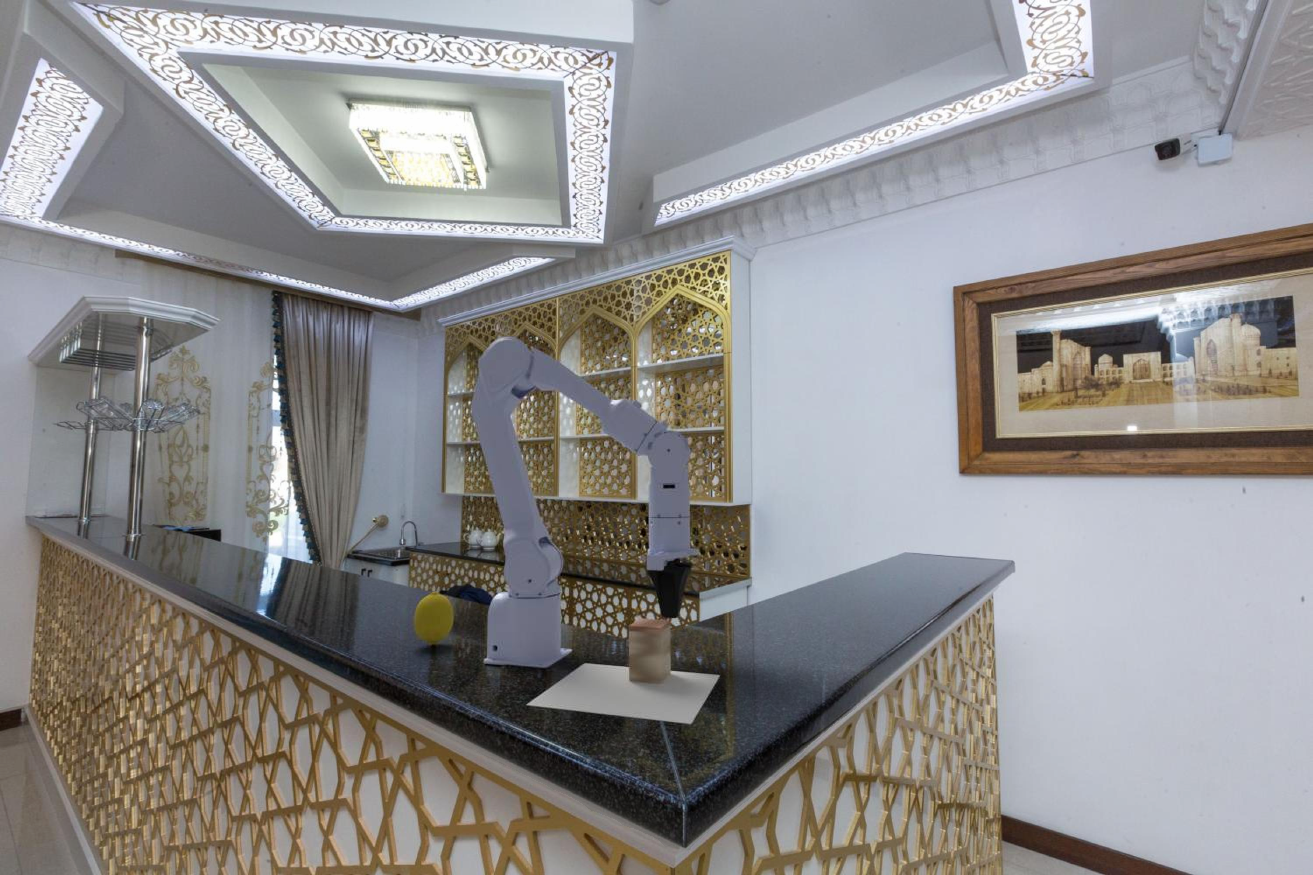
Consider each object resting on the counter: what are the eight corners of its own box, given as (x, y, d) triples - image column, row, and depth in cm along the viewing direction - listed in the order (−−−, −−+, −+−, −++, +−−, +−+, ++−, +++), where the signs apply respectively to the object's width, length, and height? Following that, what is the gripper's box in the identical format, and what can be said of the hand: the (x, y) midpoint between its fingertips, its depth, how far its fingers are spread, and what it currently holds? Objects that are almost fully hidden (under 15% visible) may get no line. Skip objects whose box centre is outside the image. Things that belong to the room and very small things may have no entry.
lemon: (449, 639, 89) (450, 587, 90) (455, 647, 84) (456, 592, 85) (411, 644, 86) (412, 590, 87) (415, 653, 82) (416, 596, 82)
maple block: (629, 680, 68) (628, 625, 68) (640, 670, 72) (639, 618, 72) (661, 684, 67) (660, 627, 67) (670, 673, 70) (670, 620, 71)
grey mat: (526, 708, 61) (526, 704, 61) (584, 666, 75) (584, 663, 75) (691, 727, 55) (691, 723, 55) (720, 678, 70) (720, 675, 70)
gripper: (684, 520, 72) (685, 631, 70) (708, 514, 85) (709, 607, 84) (631, 519, 74) (631, 627, 72) (662, 514, 87) (663, 605, 86)
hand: (670, 616), depth 78 cm, fingers closed
